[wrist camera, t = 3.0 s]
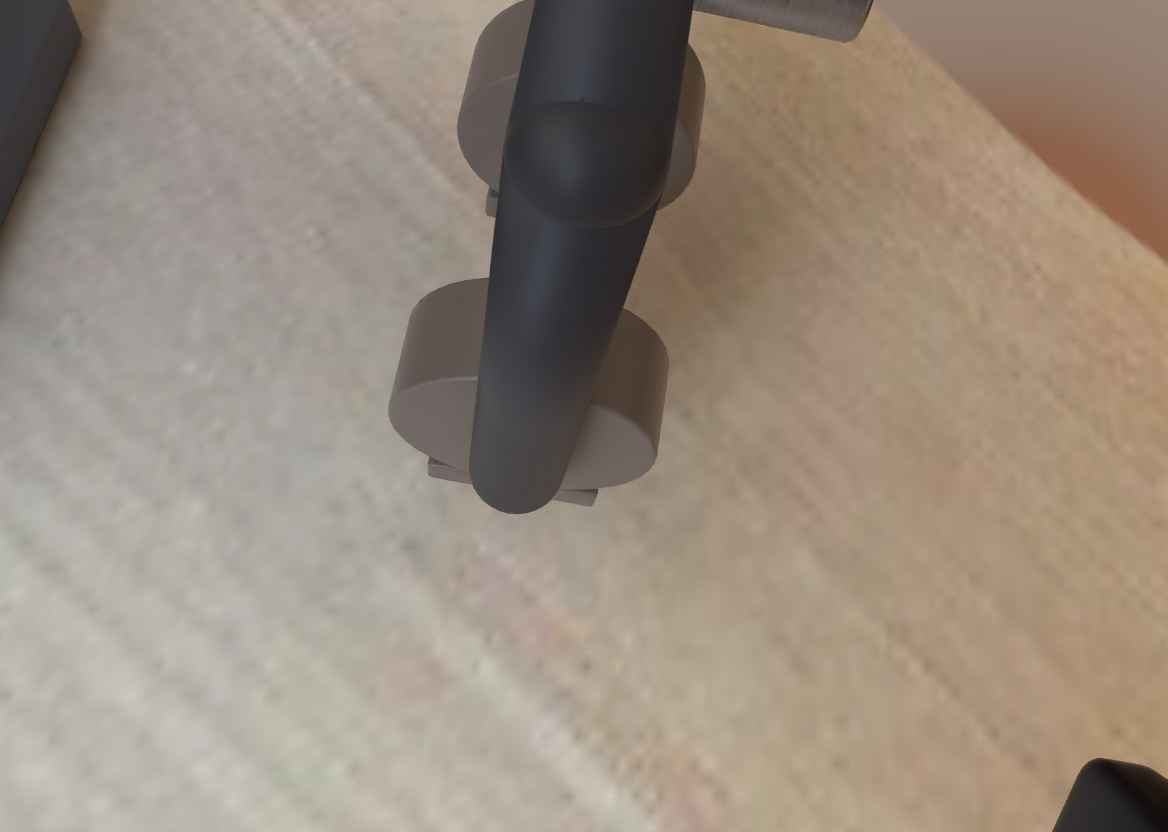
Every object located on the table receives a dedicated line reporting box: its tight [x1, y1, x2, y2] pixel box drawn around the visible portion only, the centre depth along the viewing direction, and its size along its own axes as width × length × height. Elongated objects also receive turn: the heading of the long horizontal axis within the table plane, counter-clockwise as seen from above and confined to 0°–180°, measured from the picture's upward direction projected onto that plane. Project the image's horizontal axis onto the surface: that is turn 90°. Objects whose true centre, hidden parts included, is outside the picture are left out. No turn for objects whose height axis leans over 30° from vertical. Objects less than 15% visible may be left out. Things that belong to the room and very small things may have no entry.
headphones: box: [388, 0, 706, 514], centre depth 15 cm, size 9×4×11 cm, turn 171°
